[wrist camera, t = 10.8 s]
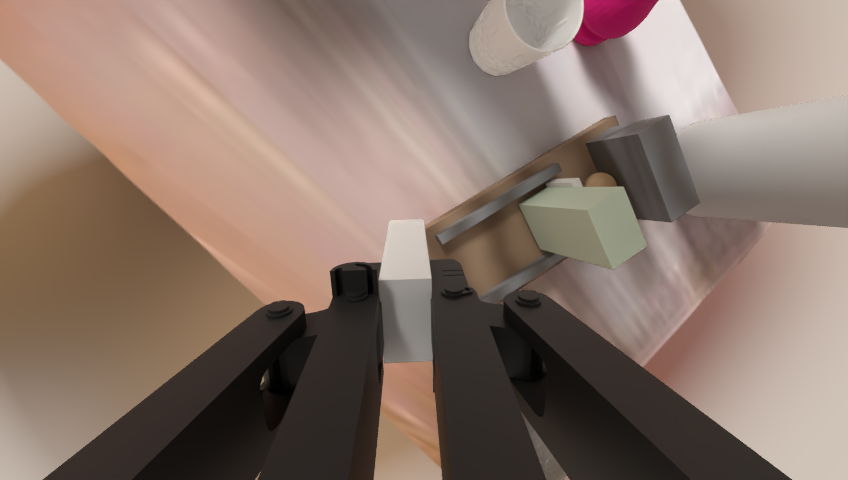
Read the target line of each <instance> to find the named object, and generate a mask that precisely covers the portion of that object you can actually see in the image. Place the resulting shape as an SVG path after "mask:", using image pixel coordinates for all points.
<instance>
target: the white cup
mask: <svg viewBox="0 0 848 480" xmlns="http://www.w3.org/2000/svg"><path fill="white" fill-rule="evenodd" d="M583 13H584V1H583V0H490V1H489V3H488V4H487V5H486V7H485V8H484V10H483V11H482V13H481V14H480V16H479V17H478V19H477V20H476V22H475V24H474V26H473V27H472V29H471V31H470V36H469V49H470V52H471V55H472V58H473V61H474V62H475V63H476V64H477V65H478V66H479V68H480V69H481V70H482V71H483V72H486V73H488V74H491V75H494V76H500V75H507V74H509V73H511V72H513V71H515V70H518V69H521V68H523V67H525V66H527V65H530V64H532V63H534V62H536V61H538V60H540V59H542V58H544V57H546V56H548V55H550V54H552V53H554V52H556V51H558V50H560V49H562V48H564V47H565V46H566V45H568V44H569V43H570V42H571V41H572V40H573V39H574V37H575V36H576V34H577V33H578V31H579V28H580V26H581V23H582V19H583Z"/></svg>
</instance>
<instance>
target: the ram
mask: <svg viewBox="0 0 848 480" xmlns="http://www.w3.org/2000/svg"><path fill="white" fill-rule="evenodd" d="M545 184H546V188H544V189H543V190H541V191H540V192H538V193H536V194H535V195H533V196H532V197H530V198H528V199H527V200H525V201H523V202H522V203H520V204H519V207H520V209H521V211H522V213H523V215H524V217H525V219H526V221H527V223H528V225H529V227H530V229H531V232H532V234H533V236H534V238H535V240H536V242H537V244H538V246H539V248H540V249H541V250H545V251H548V252H552V253H555V254H559V255H563V256H566V257H570V258H573V259H577V260H580V261H584V262H587V263H591V264H595V265H598V266H602V267H605V268H609V269H612V270H613V269H615V268H616V267H618V266H619V265H620V264H622V263H623V262H625V261H626V260H628V259H629V258H631V257H632V256H634V255H635V254H637V253H638V252H640V251H641V250H643V249H644V248H646V247H647V243H646V241H645V238H644V236H643V233H642V231H641V228H640V226H639V223H638V221H637V218H636V216H635V213H634V211H633V208H632V206H631V203H630V201H629V199H628V196H627V194H626V191H625V189H624V187H583V186H582V183H581V181H580V179H579V178H564V179H551V180H549V181H548V182H546V183H545Z"/></svg>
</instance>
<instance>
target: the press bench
mask: <svg viewBox="0 0 848 480" xmlns="http://www.w3.org/2000/svg"><path fill="white" fill-rule="evenodd" d="M564 178H579V179H580V181H581V183H582V186H583V187H624V189H625V191H626V194H627V196H628V199H629V201H630V203H631V206H632V208H633V211H634V213H635V216H636V218H637V219H643V220H654V221H664V222H673V221H674V220H676V219H677V218H679V217H680V216H682V215H683V214H685V213H686V212H688V211H689V210H691V209H692V208H694V207H695V206H697V205H698V204H700V200H699V198H698V195H697V192H696V189H695V186H694V184H693V181H692V178H691V175H690V172H689V169H688V167H687V164H686V161H685V158H684V155H683V153H682V150H681V147H680V144H679V141H678V139H677V136H676V133H675V130H674V127H673V124H672V122H671V119H670V116H669V115H666V116H661V117H657V118H652V119H647V120H643V121H638V122H633V123H628V124H624V125H619V124H618V121H617V118H616V116H611V117H607V118H603V119H602V120H600V121H598V122H597V123H595V124H593V125H592V126H590V127H588V128H587V129H585V130H583V131H582V132H580V133H578V134H577V135H575V136H573V137H572V138H570V139H568V140H567V141H565V142H563V143H562V144H560V145H558V146H557V147H555V148H553V149H552V150H550V151H548V152H547V153H545V154H543V155H542V156H540V157H538V158H537V159H535V160H533V161H532V162H530V163H528V164H527V165H525V166H523V167H522V168H520V169H518V170H517V171H515V172H513V173H512V174H510V175H508V176H507V177H505V178H503V179H502V180H500V181H498V182H497V183H495V184H493V185H492V186H490V187H488V188H487V189H485V190H483V191H482V192H480V193H478V194H477V195H475V196H473V197H472V198H470V199H468V200H467V201H465V202H463V203H462V204H460V205H459V206H457V207H455V208H454V209H452V210H450V211H449V212H447V213H445V214H444V215H442V216H440V217H439V218H437V219H435V220H434V221H432V222H430V223H429V224H427V225H425V233H426V241H427V248H428V256H429V260H440V259H454V260H456V261H457V262H459V263H460V264H461V266H462V268H463V271H464V274H465V277H466V280H467V283H468V286H470V287H472V288H474V290H475V291H476V292H477V294H478V297H479V300H481V301H484V302H487V303H493V304H498V303H499V302H501V301H502V300H504V298H505V296H506V295H507V294H509V293H511V292H515V291H518V290H519V289H521V288H522V287H524V286H525V285H527V284H528V283H530V282H531V281H533V280H534V279H536V278H537V277H539V276H540V275H542V274H543V273H545V272H546V271H548V270H550V269H551V268H553V267H554V266H556V265H557V264H559V263H560V262H562V261H563V260H565V259H566V258H568V257H566V256H563V255H559V254H555V253H552V252H548V251H545V250H541V249H540V248H539V246H538V244H537V242H536V240H535V238H534V236H533V234H532V232H531V229H530V227H529V225H528V223H527V221H526V219H525V217H524V215H523V213H522V211H521V209H520V207H519V204H520V203H522V202H523V201H525V200H527V199H528V198H530V197H532V196H533V195H535V194H536V193H538V192H540V191H541V190H543V189H544V188H546V184H545V183H546V182H548V181H549V180H551V179H564Z"/></svg>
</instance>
